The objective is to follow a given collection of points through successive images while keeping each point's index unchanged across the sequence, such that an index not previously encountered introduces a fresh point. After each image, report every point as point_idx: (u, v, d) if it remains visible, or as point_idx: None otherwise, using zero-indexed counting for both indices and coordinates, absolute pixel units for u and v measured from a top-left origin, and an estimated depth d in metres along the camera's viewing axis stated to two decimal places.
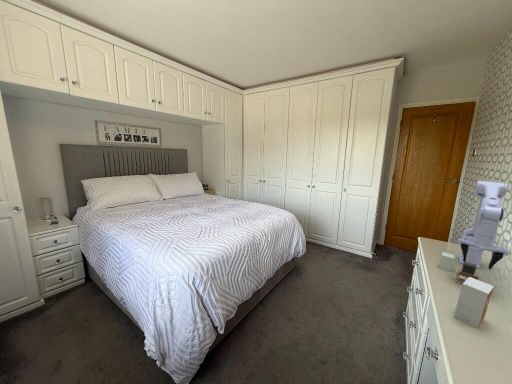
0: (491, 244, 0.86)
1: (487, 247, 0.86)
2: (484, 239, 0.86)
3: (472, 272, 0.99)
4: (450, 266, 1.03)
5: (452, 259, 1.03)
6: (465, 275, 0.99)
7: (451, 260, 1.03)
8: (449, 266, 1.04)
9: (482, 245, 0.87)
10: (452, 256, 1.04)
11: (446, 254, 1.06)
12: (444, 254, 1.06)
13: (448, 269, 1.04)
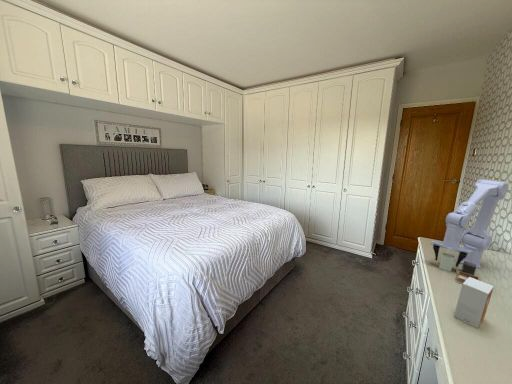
0: (457, 245, 1.01)
1: (454, 248, 1.02)
2: (451, 241, 1.02)
3: (472, 272, 0.99)
4: (450, 266, 1.03)
5: (452, 259, 1.03)
6: (465, 275, 0.99)
7: (451, 260, 1.03)
8: (449, 266, 1.04)
9: (450, 246, 1.02)
10: (452, 256, 1.04)
11: (446, 254, 1.06)
12: (444, 254, 1.06)
13: (448, 269, 1.04)
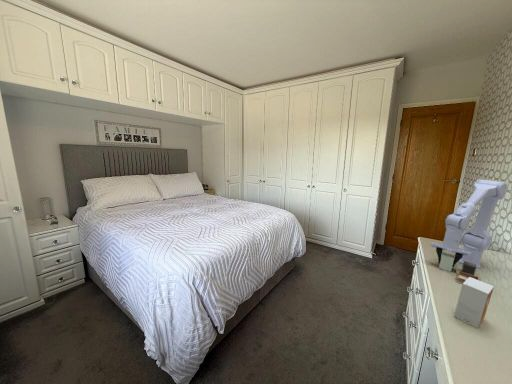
0: (457, 247, 1.02)
1: (453, 249, 1.02)
2: (451, 243, 1.02)
3: (472, 272, 0.99)
4: (450, 266, 1.03)
5: (452, 259, 1.03)
6: (465, 275, 0.99)
7: (451, 260, 1.03)
8: (449, 266, 1.04)
9: (449, 248, 1.02)
10: (452, 256, 1.04)
11: (446, 254, 1.06)
12: (444, 254, 1.06)
13: (448, 269, 1.04)
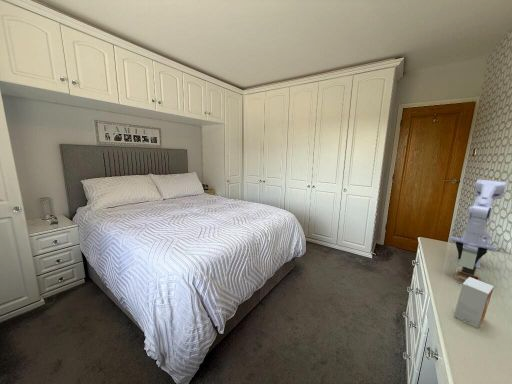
0: (480, 241, 0.92)
1: (476, 244, 0.92)
2: (473, 236, 0.92)
3: (472, 272, 0.99)
4: (472, 263, 0.93)
5: (475, 255, 0.92)
6: (465, 275, 0.99)
7: (473, 256, 0.93)
8: (470, 263, 0.94)
9: (472, 242, 0.92)
10: (474, 252, 0.94)
11: (467, 250, 0.96)
12: (464, 250, 0.96)
13: (470, 266, 0.94)
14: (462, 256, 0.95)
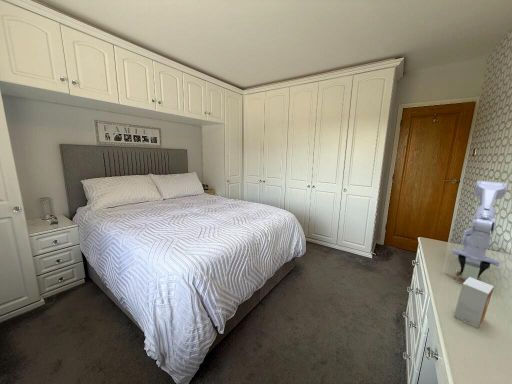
0: (483, 255, 0.90)
1: (479, 258, 0.90)
2: (476, 250, 0.91)
3: None
4: (475, 277, 0.92)
5: (477, 269, 0.91)
6: None
7: (476, 270, 0.91)
8: (473, 277, 0.92)
9: (474, 256, 0.91)
10: (477, 266, 0.93)
11: (470, 263, 0.95)
12: (467, 263, 0.94)
13: None
14: (465, 270, 0.94)
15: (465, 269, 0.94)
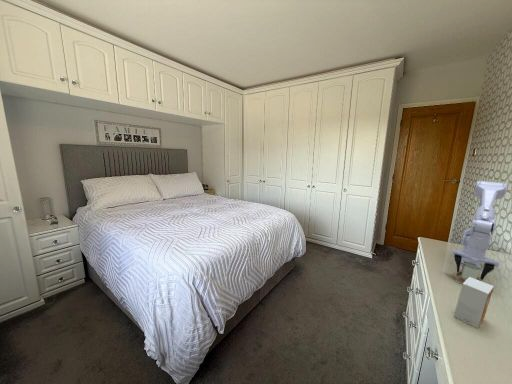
0: (483, 256, 0.90)
1: (479, 259, 0.91)
2: (476, 251, 0.91)
3: None
4: None
5: (477, 271, 0.91)
6: None
7: (475, 272, 0.92)
8: None
9: (474, 257, 0.91)
10: (476, 268, 0.93)
11: (469, 265, 0.95)
12: (466, 266, 0.95)
13: None
14: (464, 272, 0.94)
15: (464, 271, 0.94)
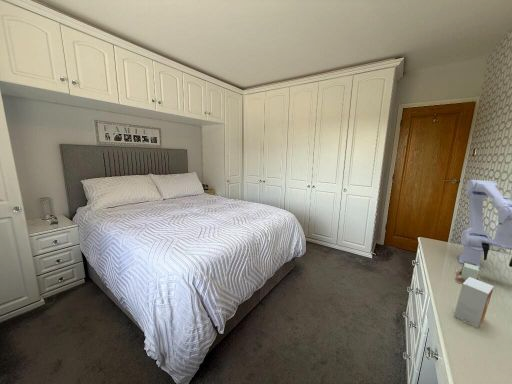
0: None
1: (508, 246, 0.90)
2: (505, 238, 0.90)
3: None
4: None
5: (477, 271, 0.91)
6: None
7: (475, 272, 0.92)
8: None
9: (503, 244, 0.91)
10: (476, 268, 0.93)
11: (469, 265, 0.95)
12: (466, 266, 0.95)
13: None
14: (464, 272, 0.94)
15: (464, 271, 0.94)
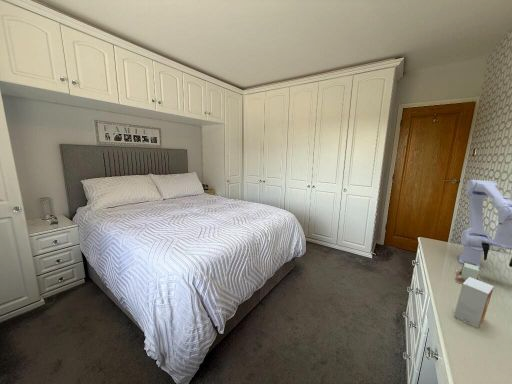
0: None
1: (508, 246, 0.90)
2: (505, 238, 0.90)
3: None
4: None
5: (477, 271, 0.91)
6: None
7: (475, 272, 0.92)
8: None
9: (503, 244, 0.91)
10: (476, 268, 0.93)
11: (469, 265, 0.95)
12: (466, 266, 0.95)
13: None
14: (464, 272, 0.94)
15: (464, 271, 0.94)
